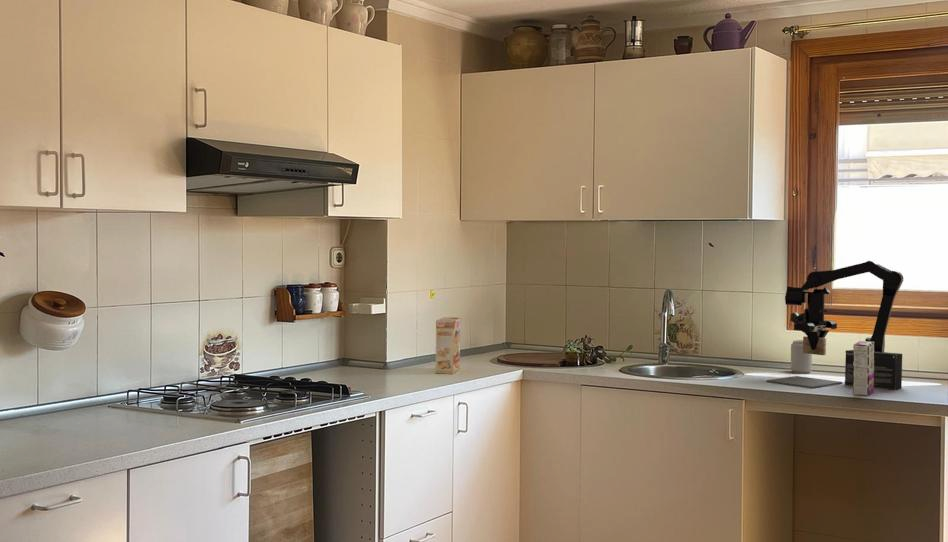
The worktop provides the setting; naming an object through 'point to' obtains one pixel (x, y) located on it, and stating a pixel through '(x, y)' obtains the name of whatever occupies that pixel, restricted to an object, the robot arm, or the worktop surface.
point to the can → (800, 358)
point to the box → (879, 370)
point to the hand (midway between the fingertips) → (814, 349)
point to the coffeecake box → (448, 345)
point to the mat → (804, 382)
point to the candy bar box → (863, 368)
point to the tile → (819, 348)
